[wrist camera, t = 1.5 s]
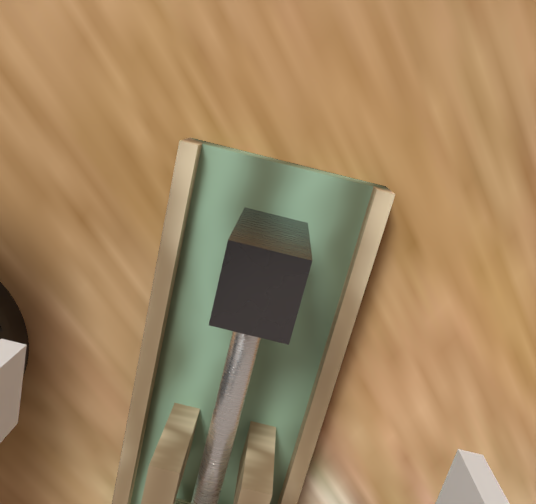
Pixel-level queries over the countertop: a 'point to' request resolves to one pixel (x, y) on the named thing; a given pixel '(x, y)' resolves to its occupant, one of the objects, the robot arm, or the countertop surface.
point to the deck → (217, 339)
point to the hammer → (250, 322)
